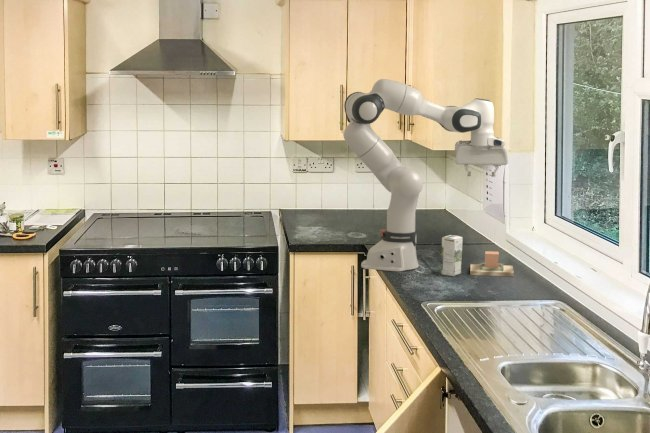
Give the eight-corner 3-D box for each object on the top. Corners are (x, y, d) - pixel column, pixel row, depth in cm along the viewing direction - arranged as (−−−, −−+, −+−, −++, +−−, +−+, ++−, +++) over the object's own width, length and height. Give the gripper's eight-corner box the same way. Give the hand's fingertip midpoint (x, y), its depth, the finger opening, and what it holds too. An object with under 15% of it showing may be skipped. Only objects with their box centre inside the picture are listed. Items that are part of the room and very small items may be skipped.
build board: (470, 274, 330) (470, 268, 329) (470, 267, 342) (470, 261, 341) (513, 276, 327) (513, 270, 327) (512, 269, 339) (512, 263, 338)
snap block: (484, 269, 332) (485, 253, 331) (484, 266, 337) (485, 251, 336) (498, 269, 331) (498, 254, 330) (498, 267, 336) (498, 251, 335)
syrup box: (448, 271, 335) (449, 234, 333) (461, 274, 331) (462, 236, 329) (440, 274, 331) (441, 236, 328) (454, 276, 327) (454, 238, 325)
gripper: (454, 141, 339) (453, 176, 341) (508, 141, 336) (507, 177, 338) (455, 139, 345) (454, 174, 348) (508, 140, 342) (507, 175, 344)
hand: (481, 176), depth 343 cm, fingers open, 8 cm apart
